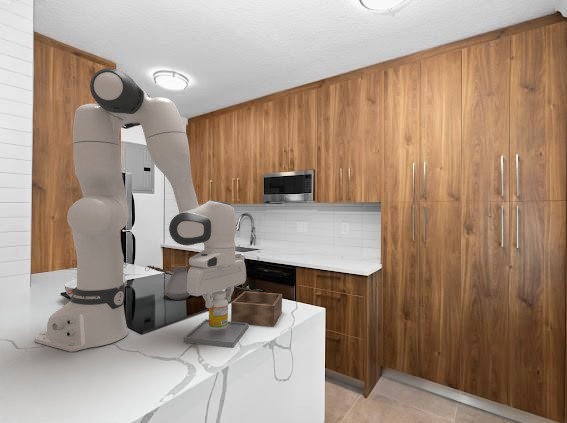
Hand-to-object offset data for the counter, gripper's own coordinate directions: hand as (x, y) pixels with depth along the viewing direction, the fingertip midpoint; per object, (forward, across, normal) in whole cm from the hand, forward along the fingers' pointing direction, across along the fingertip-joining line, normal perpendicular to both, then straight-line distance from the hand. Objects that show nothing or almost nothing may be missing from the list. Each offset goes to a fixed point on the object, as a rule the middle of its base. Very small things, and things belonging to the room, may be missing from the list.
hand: (218, 304), depth 88 cm
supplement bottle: (+6, 0, 0) cm, 7 cm away
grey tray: (+9, 0, 0) cm, 9 cm away
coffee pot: (+9, -12, -39) cm, 42 cm away
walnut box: (+9, -18, 0) cm, 20 cm away
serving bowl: (+9, +4, -63) cm, 64 cm away
